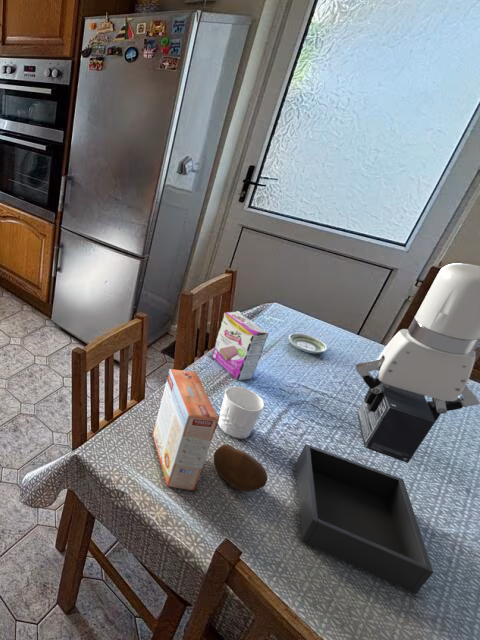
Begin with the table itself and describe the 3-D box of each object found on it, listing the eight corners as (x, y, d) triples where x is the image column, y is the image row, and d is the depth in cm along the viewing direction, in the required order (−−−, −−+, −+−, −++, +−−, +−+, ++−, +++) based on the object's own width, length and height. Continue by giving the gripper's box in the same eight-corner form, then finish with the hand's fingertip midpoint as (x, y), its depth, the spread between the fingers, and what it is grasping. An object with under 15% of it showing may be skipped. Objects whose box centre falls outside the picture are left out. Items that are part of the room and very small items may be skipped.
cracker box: (196, 492, 87) (221, 419, 78) (165, 487, 88) (186, 415, 79) (178, 438, 99) (197, 370, 90) (151, 434, 100) (168, 367, 91)
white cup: (258, 444, 97) (270, 412, 93) (221, 439, 98) (232, 408, 94) (243, 418, 104) (255, 388, 100) (210, 414, 105) (220, 384, 101)
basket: (388, 501, 84) (403, 479, 81) (414, 595, 69) (433, 572, 67) (295, 465, 92) (305, 443, 89) (300, 542, 77) (312, 519, 74)
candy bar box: (209, 357, 126) (223, 311, 119) (224, 355, 126) (238, 310, 119) (237, 382, 116) (253, 334, 109) (252, 380, 116) (270, 332, 109)
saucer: (319, 343, 131) (322, 336, 130) (329, 361, 123) (332, 355, 122) (283, 336, 135) (285, 330, 134) (290, 353, 127) (292, 347, 126)
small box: (411, 465, 73) (439, 422, 69) (363, 448, 77) (386, 406, 72) (398, 426, 81) (422, 385, 77) (355, 412, 84) (376, 372, 80)
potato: (215, 456, 94) (224, 431, 91) (265, 485, 88) (276, 460, 84) (203, 476, 90) (212, 451, 86) (254, 508, 83) (266, 482, 80)
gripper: (509, 341, 67) (455, 422, 74) (368, 310, 76) (333, 384, 83) (530, 367, 61) (470, 451, 69) (375, 330, 70) (337, 408, 78)
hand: (395, 414), depth 76 cm, fingers closed on small box, 6 cm apart
